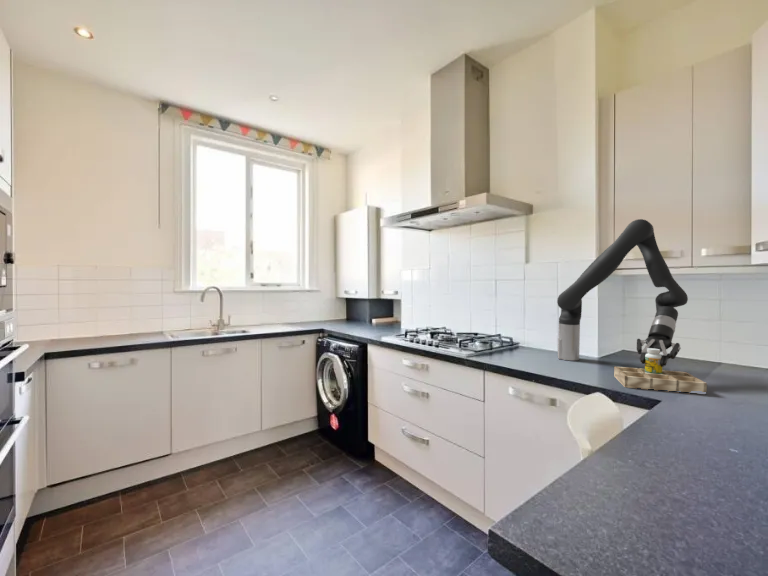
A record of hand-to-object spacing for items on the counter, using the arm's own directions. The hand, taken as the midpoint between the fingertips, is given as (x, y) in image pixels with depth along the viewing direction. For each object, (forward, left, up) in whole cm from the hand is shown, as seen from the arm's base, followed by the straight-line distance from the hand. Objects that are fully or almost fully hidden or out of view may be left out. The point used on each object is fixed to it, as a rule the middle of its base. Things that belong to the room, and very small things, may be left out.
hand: (652, 363), depth 136 cm
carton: (+1, -2, -7) cm, 8 cm away
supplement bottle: (+1, +2, -4) cm, 5 cm away
